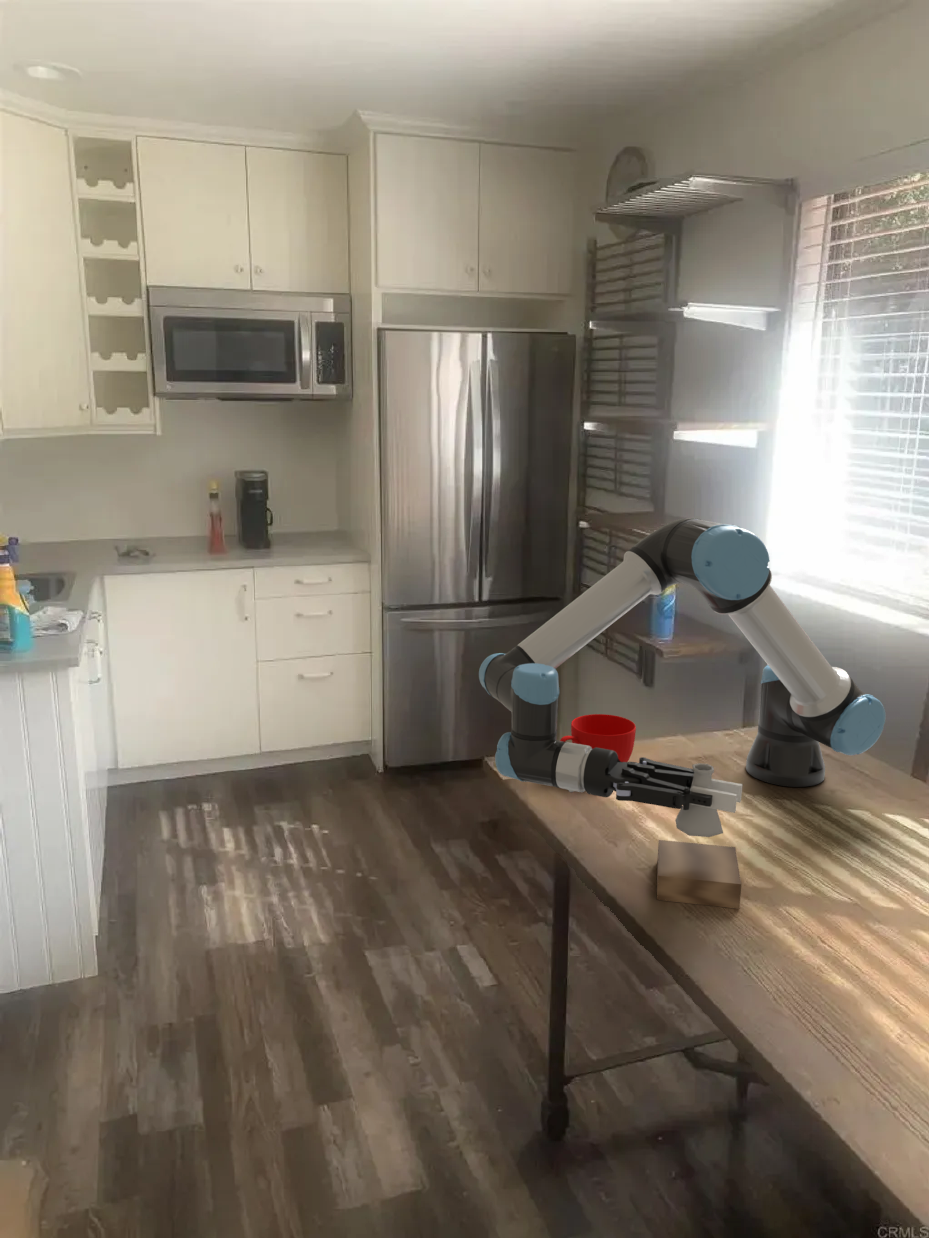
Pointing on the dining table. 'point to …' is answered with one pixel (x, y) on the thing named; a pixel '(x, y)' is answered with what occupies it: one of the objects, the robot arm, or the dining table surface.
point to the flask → (700, 808)
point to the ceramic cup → (604, 733)
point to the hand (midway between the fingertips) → (738, 798)
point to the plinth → (698, 874)
